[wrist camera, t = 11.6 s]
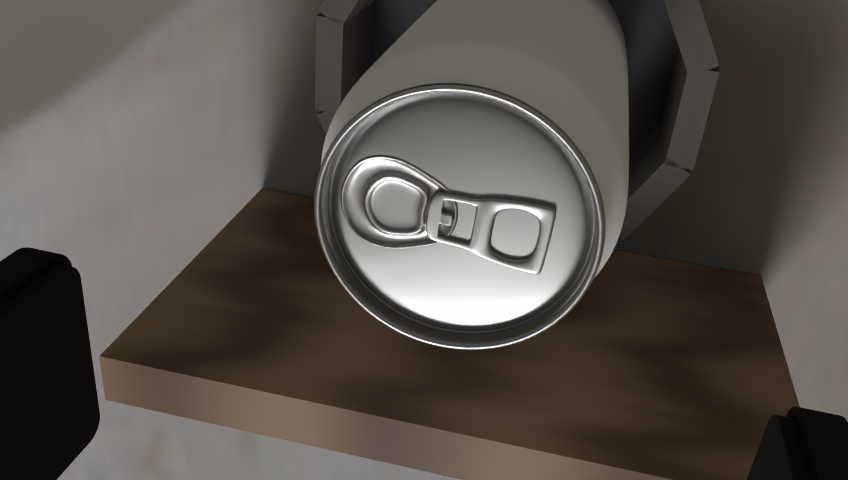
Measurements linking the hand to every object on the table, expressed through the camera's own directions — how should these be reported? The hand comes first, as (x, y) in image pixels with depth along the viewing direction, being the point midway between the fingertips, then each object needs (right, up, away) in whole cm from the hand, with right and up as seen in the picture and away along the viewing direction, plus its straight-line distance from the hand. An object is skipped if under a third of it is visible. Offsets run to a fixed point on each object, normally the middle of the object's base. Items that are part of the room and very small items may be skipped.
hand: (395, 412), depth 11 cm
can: (+4, +8, +15) cm, 17 cm away
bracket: (+4, +8, +18) cm, 20 cm away
